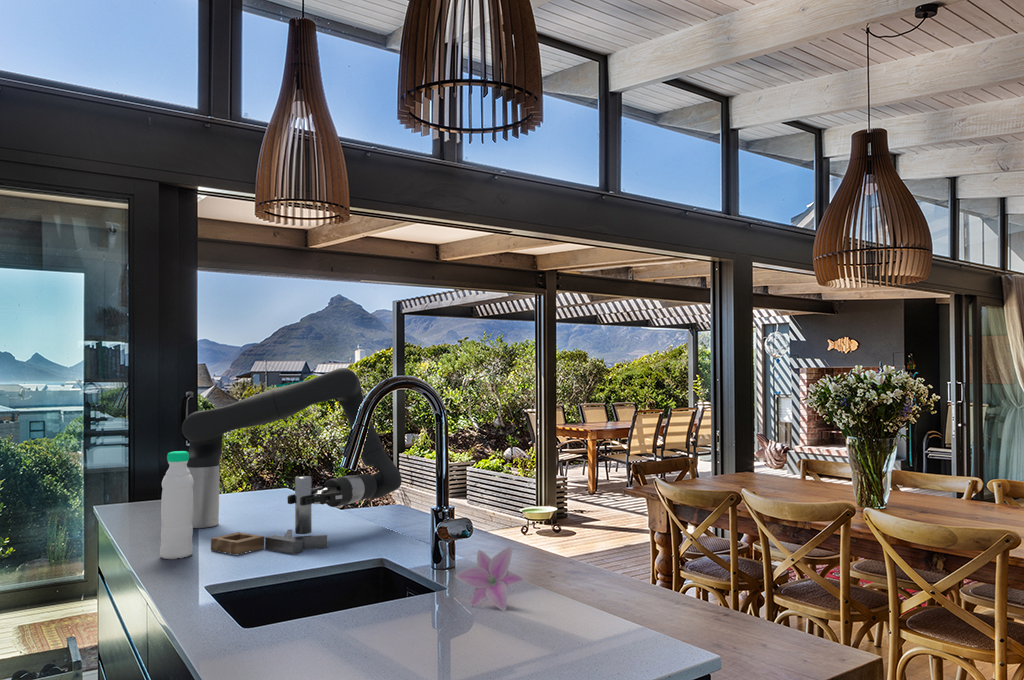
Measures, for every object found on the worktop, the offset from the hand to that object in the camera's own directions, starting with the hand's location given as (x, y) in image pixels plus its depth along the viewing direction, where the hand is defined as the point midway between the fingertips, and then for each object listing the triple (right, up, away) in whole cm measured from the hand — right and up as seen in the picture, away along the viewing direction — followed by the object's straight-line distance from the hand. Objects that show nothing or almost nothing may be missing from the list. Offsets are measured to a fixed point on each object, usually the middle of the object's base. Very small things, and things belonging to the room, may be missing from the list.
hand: (295, 500), depth 183 cm
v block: (0, -12, -1) cm, 12 cm away
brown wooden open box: (-14, -12, -2) cm, 18 cm away
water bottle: (-26, -12, -9) cm, 30 cm away
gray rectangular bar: (+2, -9, +2) cm, 9 cm away
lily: (+51, -9, -46) cm, 69 cm away
